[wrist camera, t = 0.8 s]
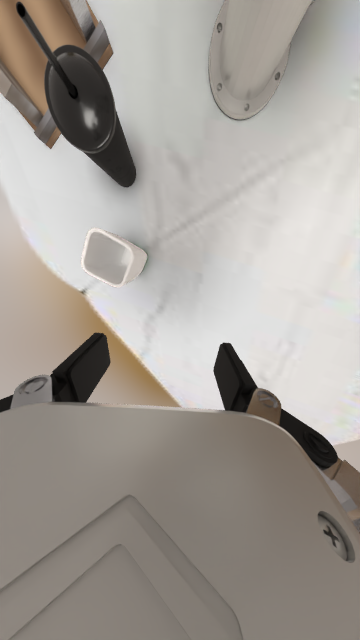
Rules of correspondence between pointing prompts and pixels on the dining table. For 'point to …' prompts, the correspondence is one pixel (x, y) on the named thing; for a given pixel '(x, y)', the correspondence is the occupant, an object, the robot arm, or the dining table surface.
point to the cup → (111, 258)
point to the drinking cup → (83, 105)
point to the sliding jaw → (80, 17)
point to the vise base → (40, 57)
